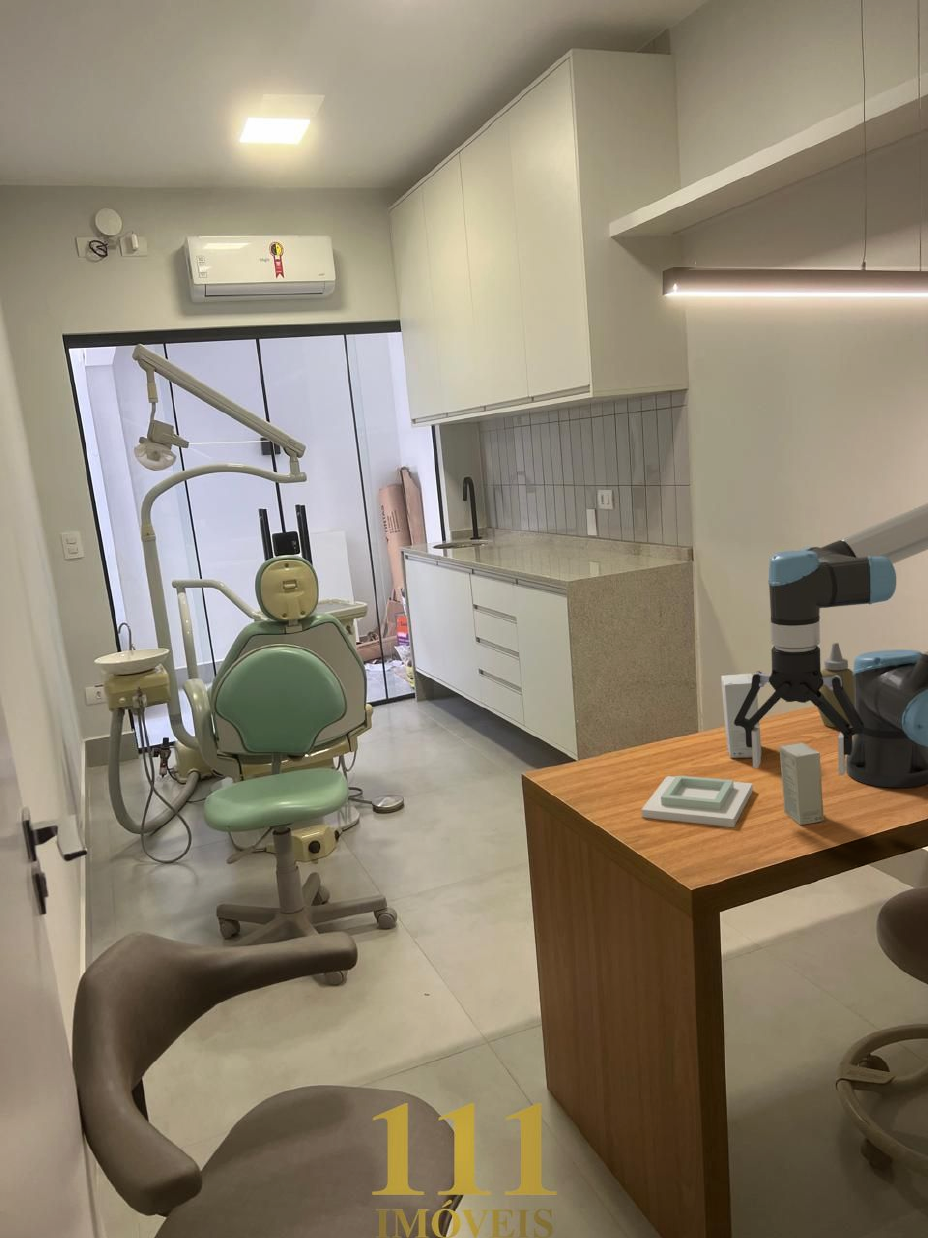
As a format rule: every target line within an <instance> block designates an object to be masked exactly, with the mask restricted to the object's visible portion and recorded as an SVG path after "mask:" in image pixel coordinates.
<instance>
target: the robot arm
mask: <svg viewBox="0 0 928 1238" xmlns="http://www.w3.org/2000/svg"><path fill="white" fill-rule="evenodd" d="M927 550H928V502H927V503H924V504H921V505H920V506H918V507H914V508H913V509H910V510H908V511H906V512H903V513H901V514H899V515H896V516H894V517H892V518H889V519H886V520H884V521H882V522H880V523H878V524H874V525H872V526H870V527H868V528H865V529H863V530H860V531H857V532H856V533H854V534H851V535H849V536H846V537H844V538H841V539H840V540H837V541H833V542H831V543H829V544H827V545H824V546H822V547H820V546H819V547H817V546H811V547H810V546H809V547H804V548H803V549H801V550H800V549H799V550H788V551H787V550H785V551H781V552H777V553H775V554H773V555H772V556H771V557H770V560H769V567H768V582H767V583H768V588H769V607H770V609H769V610H770V644H771V645H772V646H773V647H772V648H771V649H770V650H771V654H770V655H771V674H766V673H762V671H760V670H759V671H758V670H757V671H755V672H754V674H752V675H753V677H752V686H751V689H750V691H749V693H748V695H747V697H746V699H745V701H744V703H743V705H742V707H741V709H740V711H739V712H738V714H737V716H736V718H735V720H734V724H735V725H736V726H741V727H743V728H744V729H745V732H746V746H747V747H750V748H752V755H753V757H752V768H753V769H758V768H759V766H760V765H761V757H760V740H761V732H760V731H761V730H759V727H760V726H759V727H756V726H755V725H756V724H757V723H758V722H759V723H760V721H761V720H762V719H763V718H764V716H765V715H766V714H768V713H769V711H770V710H771V709H772V708H773V707H774V706H775V705H776V704H777V703H778V702H779V701H780V700H781V699H782V700H783V701H785V703H793V702H797V703H801V704H806V703H808V702H811V703H812V704H813V705H814V706H815V707H817V709H818V708H819V709H820V710H821V711H822V712H823V714H824V715H825V716H826V717H827V718H828V719H829V720H830V721H831V722H832V723H833V725H834V726H835V727H836V729H837V730H838V731H839V734H838V735H837V746H838V747H837V749H838V750H837V751H838V752H837V753H838V755H837V757H838V776H844V775H845V773H847V775H848V776H849V777H850V778H851V779H853V780H855V781H858V782H860V783H863V784H866V785H869V786H875V787H881V788H892V789H898V788H899V789H900V788H901V789H902V788H903V789H905V788H915V787H919V786H921V787H922V786H924V785H927V784H928V651H924V652H922V651H919V650H914V649H885V650H884V649H883V650H874V651H868V652H864V653H860V654H858V655H857V656H855V659H853V669H852V672H853V679H854V706H855V708H854V706H853V704H852V702H851V700H850V699H849V697H848V695H847V693H846V692H845V690H844V688H843V683H842V677H841V675H839V674H836V675H834V676H832V677H823V676H822V674H821V671H822V670H821V648H820V647H819V645H820V643H821V636H820V635H821V633H820V632H821V630H820V629H821V627H820V613H821V611H820V610H821V609H826V608H828V609H829V608H835V607H837V608H838V607H847V606H856V605H857V606H858V605H872V604H876V603H882V602H886V601H889V600H890V599H892V598H893V596H894V595H895V592H896V589H897V571H896V569H895V566H894V564H897V563H899V562H901V561H903V560H907V559H908V558H911V557H913V556H916V555H918V554H921V553H923V552H925V551H927ZM767 683H769V684H770V685H771V687H772V688H773V690H774V692H773V693H772V694H771V695H770V696H769V697H768V698H767V700H766V701H764V703H763V704H762V705H761V706H760V707H758V711H757V712H756V713H755V714H754V715H753V716H752V717H751V718H750V719H746V718H745V717H746V715H747V713H748V711H749V709H750V707H751V705H752V703H753V701H754V699H755V697H756V695H757V696H758V693H759V691H760V689H761V688H763V687H765V686H766V684H767ZM823 684H825V685H827V686H828V688H829V689H830V690H833V692H834V695H835V697H836V698H837V700H838V702H839V704H840V706H841V707H842V709H843V711H844V713H845V715H846V716H847V718H848V720H849V722H850V723H851V726H850V725H849V724H848V723H847V721H846V720H845V719H844V718H843V717H842V716H841V715H840V714H839V713H838V712H837V711H836V709H835V708H834V707H833V706H832V705H831V704H830V703H829V702H828V701H827V700H826V699H825V697H824V695H823V694H822V693H821V692H820V691H819V689H820V688H821V687H822V686H823ZM754 726H755V727H754Z"/></svg>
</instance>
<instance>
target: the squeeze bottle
mask: <svg viewBox="0 0 928 1238" xmlns="http://www.w3.org/2000/svg"><path fill="white" fill-rule="evenodd" d="M821 674H822V676H823V677H832V676H834V675H836V674H839V675H841V677H842V683H843V688H844V690H845V692H846V693H847V695H848V697H849V699H850V700H851V702H852V704H853V706H854V679H853V670H852V669H850V668H849V660H848V659H847V658H843V655H842V651H841V648H840V643H838V642H834V643H832V645H831V650H830V655H829V658H826V659H824V668H823V669H822V670H821ZM819 691H820V692H821V693H822V694H823V695H824V697H825V699H826V700H827V701H828V702H829V703H830V704H831V705H832V706H833V707H834V708H835V709H836V711H837V712H838V713H839V714H840V715H841V716H842V717H843V718H844V719H845V720H846V721H847V723H848V724H849V725H850V726H851V723H850V722H849V720H848V718H847V716H846V715H845V713H844V711H843V709H842V707H841V706H840V704H839V702H838V700H837V698H836V697H835V695H834V692H833V690H830V689H829V688H828V686H827V685H825V684H823V686H822V687H821V688H820V689H819ZM854 708H855V706H854ZM817 711H818V713H819V715H820V716H819V717H820V718H821V720H822V723H823V725H824V726H826V727H828V728H834V729H835V728H836V727H835V726H834V725H833V723H832V722H831V721H830V720H829V719H828V718H827V717H826V716H825V715H824V714H823V712H822V711H821V710H820V709H819V708H818V707H817ZM836 729H837V728H836Z"/></svg>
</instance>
